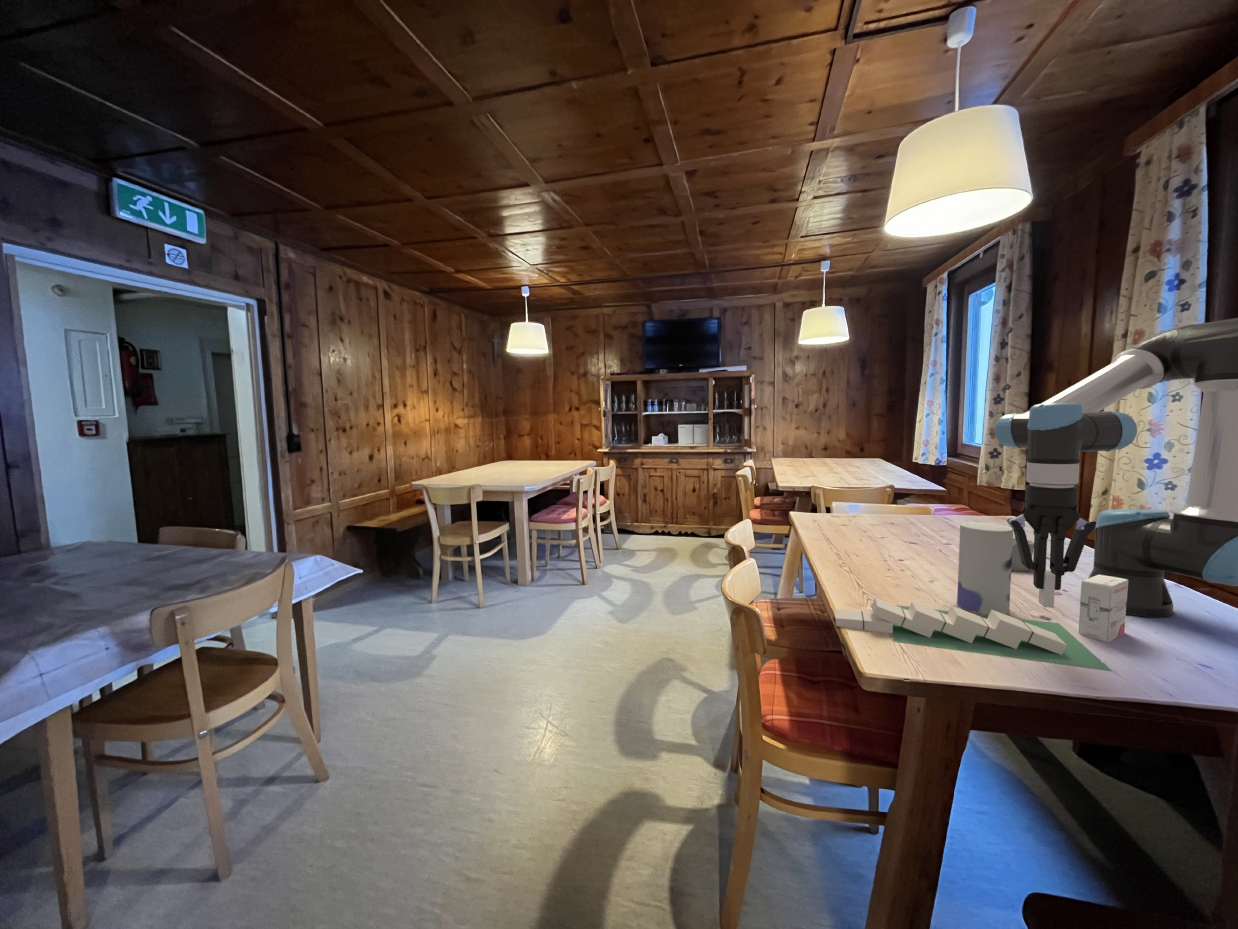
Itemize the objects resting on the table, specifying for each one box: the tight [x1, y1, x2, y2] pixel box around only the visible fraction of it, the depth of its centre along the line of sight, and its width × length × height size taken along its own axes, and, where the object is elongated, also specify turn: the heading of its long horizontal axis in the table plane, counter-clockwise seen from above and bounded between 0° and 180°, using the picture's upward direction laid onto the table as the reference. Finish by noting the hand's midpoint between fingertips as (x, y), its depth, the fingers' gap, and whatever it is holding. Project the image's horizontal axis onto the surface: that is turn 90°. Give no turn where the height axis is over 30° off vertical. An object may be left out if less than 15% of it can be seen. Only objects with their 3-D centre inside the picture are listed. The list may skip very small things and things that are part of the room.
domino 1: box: [834, 608, 893, 634], centre depth 108 cm, size 2×6×11 cm
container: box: [956, 521, 1014, 615], centre depth 116 cm, size 10×10×20 cm
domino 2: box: [871, 597, 934, 638], centre depth 105 cm, size 2×6×11 cm
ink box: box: [1078, 575, 1128, 643], centre depth 101 cm, size 9×5×12 cm, turn 118°
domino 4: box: [947, 605, 1021, 649], centre depth 100 cm, size 2×6×11 cm
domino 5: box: [987, 610, 1067, 655], centre depth 97 cm, size 2×6×11 cm
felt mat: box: [890, 604, 1113, 672], centre depth 103 cm, size 34×22×1 cm, turn 67°
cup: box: [1011, 537, 1034, 572], centre depth 145 cm, size 8×10×8 cm
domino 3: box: [908, 601, 976, 643], centre depth 102 cm, size 2×6×11 cm
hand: (1046, 604), depth 95 cm, fingers closed
